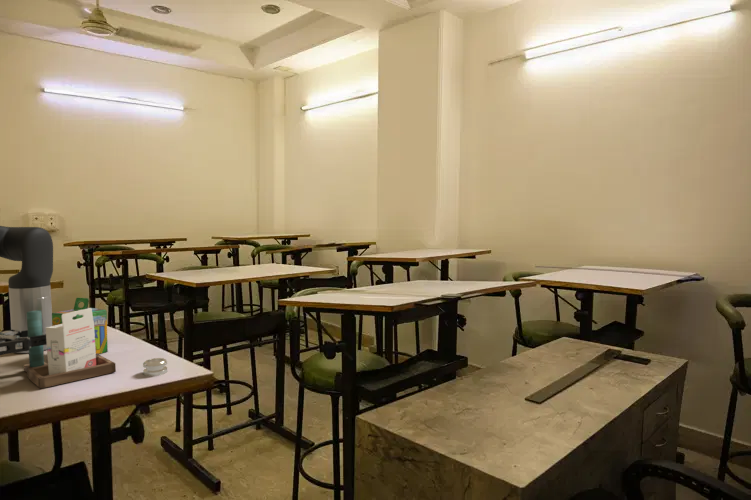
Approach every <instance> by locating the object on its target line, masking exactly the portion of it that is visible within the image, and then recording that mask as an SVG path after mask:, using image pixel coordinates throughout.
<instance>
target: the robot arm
mask: <svg viewBox="0 0 751 500" xmlns="http://www.w3.org/2000/svg"><path fill="white" fill-rule="evenodd" d="M53 243H54V242H53V239H52V236H51V233H49V231H48V230H47V229H45V228H43V227H41V226H40V227H39V226H3V225H0V258H2V259H6V260H9V261H14V262H15V261H16V262H21V268H20V271H18V272H17V273H15V274H14V275H11V276H9V278H8V281H7V282H8V299H9V313H10V317H9V318H10V329H9V330H2V331H0V356H3V355H8V354H26V353H27V354H29V348H31V347H35V346H41V345H43V350H44V351H47V341H46V327H51V326H52V313H53V308H52V307H53V306H52V290H51V289H52V287H51V278H52V276H53V272H54V244H53ZM29 311H41V313H42V331H43V335H38V336H32V337H28V329H27V312H29Z"/></svg>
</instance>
